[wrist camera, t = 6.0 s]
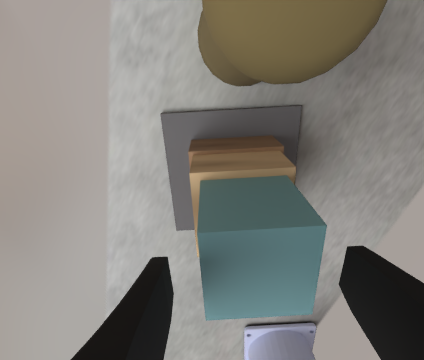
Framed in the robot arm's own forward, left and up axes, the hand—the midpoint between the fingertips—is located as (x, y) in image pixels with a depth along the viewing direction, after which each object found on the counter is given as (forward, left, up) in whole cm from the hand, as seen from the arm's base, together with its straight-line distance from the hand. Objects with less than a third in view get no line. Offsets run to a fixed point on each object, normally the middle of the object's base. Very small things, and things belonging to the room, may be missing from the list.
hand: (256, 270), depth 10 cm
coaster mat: (0, 0, -10) cm, 10 cm away
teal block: (0, 0, -4) cm, 4 cm away
